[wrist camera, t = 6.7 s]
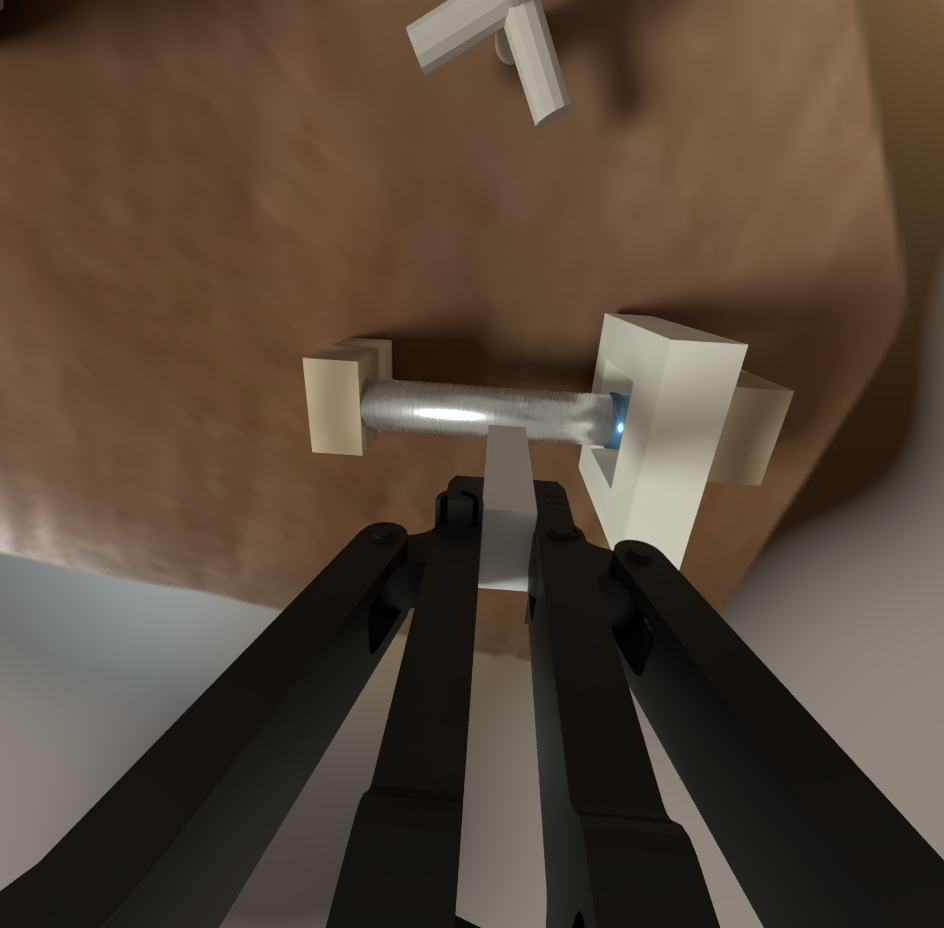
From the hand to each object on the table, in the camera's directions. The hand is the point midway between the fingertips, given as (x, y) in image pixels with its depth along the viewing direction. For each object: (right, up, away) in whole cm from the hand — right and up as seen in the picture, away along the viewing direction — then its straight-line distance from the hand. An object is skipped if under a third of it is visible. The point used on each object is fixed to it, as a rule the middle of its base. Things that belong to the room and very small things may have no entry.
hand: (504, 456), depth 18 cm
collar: (+9, +4, +12) cm, 16 cm away
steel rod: (+3, +3, +9) cm, 10 cm away
